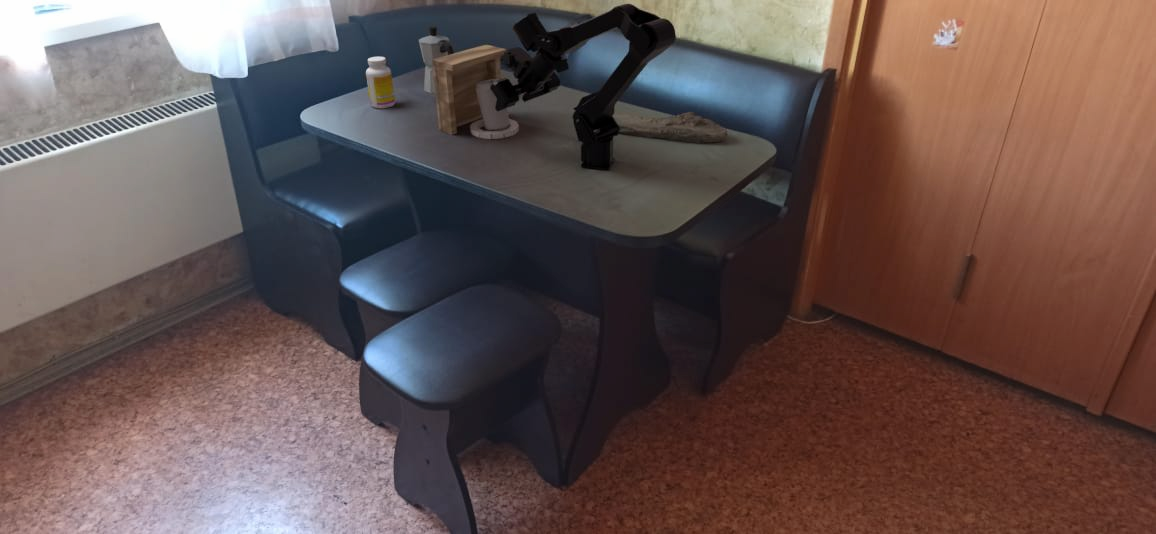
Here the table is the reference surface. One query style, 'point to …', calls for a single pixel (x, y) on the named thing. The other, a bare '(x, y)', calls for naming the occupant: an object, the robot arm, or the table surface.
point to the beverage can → (491, 107)
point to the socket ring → (495, 134)
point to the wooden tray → (463, 84)
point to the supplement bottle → (380, 83)
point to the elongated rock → (672, 127)
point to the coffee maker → (433, 55)
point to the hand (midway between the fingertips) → (510, 104)
